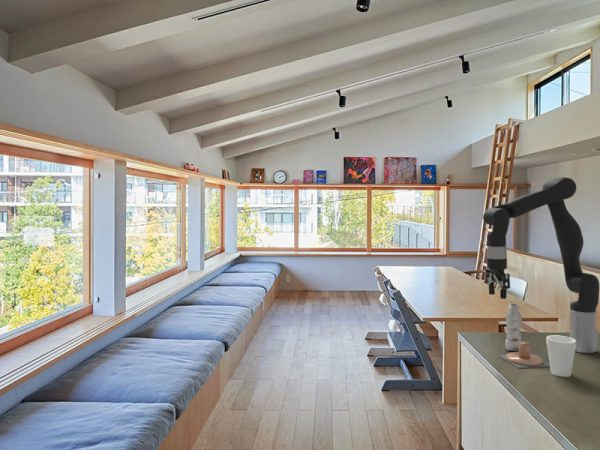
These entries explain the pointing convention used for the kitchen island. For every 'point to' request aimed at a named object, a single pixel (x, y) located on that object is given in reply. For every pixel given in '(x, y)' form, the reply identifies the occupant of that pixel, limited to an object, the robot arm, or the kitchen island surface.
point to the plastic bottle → (513, 328)
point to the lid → (524, 356)
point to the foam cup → (561, 354)
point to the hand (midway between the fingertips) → (497, 296)
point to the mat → (524, 365)
